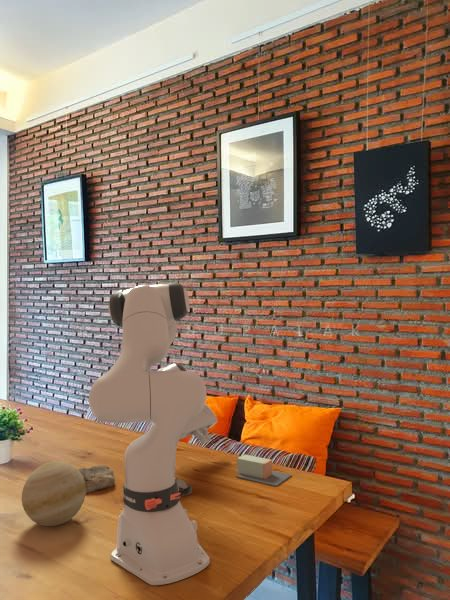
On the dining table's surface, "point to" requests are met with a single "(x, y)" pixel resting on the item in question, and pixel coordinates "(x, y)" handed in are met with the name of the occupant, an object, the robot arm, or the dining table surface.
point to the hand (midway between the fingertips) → (207, 441)
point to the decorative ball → (53, 493)
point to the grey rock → (97, 477)
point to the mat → (271, 480)
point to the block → (254, 466)
